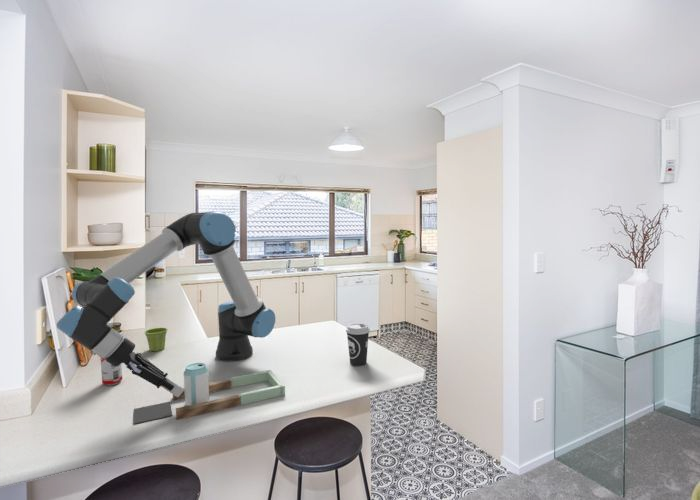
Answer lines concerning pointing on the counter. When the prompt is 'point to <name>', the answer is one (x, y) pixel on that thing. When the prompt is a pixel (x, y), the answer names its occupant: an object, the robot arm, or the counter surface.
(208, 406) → the channel
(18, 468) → the counter surface
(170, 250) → the robot arm
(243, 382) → the corral
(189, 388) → the can
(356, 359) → the coffee cup
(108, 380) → the beer can
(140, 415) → the pit mat
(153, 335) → the plant pot
